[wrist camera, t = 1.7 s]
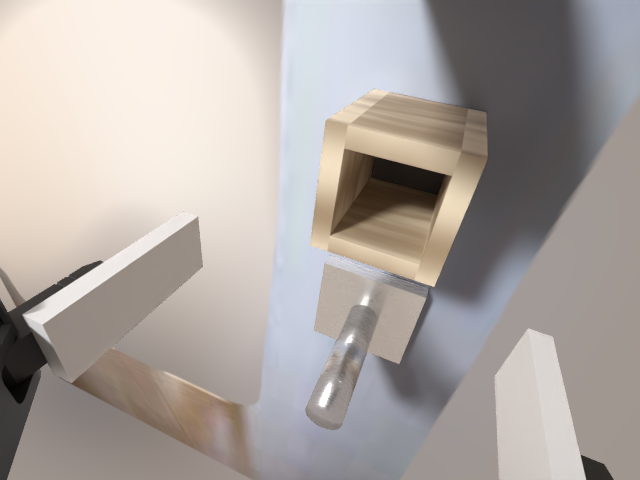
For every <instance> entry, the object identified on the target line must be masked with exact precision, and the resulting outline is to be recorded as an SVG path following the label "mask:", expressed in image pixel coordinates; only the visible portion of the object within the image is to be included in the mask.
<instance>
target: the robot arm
mask: <svg viewBox="0 0 640 480" xmlns="http://www.w3.org/2000/svg"><path fill="white" fill-rule="evenodd" d="M202 267H203V265H202V254H201V243H200V232H199V222H198V216H195V215H192V214H189V213H186V212H181V213H180V214H179V215H177V216H175V217H174V218H172V219H171V220H169V221H167V222H166V223H164V224H163V225H161V226H160V227H158V228H157V229H155V230H153V231H152V232H150V233H149V234H147V235H146V236H144V237H143V238H141V239H139V240H138V241H136V242H135V243H133V244H132V245H130V246H129V247H127V248H125V249H124V250H122V251H121V252H119V253H118V254H116V255H114V256H113V257H111V258H110V259H108V260H107V261H105V262H102V261H97V262H94V263H92V264H89V265H86V266H83V267H81V268H80V269H78V270H77V271H75V272H74V273H72V274H70V275H69V277H65V278H64V279H62V280H61V281H59V282H58V283H57V284H56V285H55V284H54V285H52V286H51V287H49V288H47V289H46V290H44V291H43V292H41V293H39V294H38V295H36V296H34V297H33V298H31V299H30V300H28V301H26V302H25V303H23V304H22V305H20V306H18V307H17V308H15V309H13V310H12V311H10V312H7V310H6V308H5V307H4V305H3V303H2V301H1V300H0V480H7V477H8V474H9V471H10V468H11V465H12V462H13V459H14V456H15V453H16V450H17V447H18V444H19V441H20V438H21V435H22V432H23V429H24V425H25V423H26V420H27V417H28V413H29V411H30V407H31V405H32V402H33V399H34V396H35V392H36V389H37V386H38V383H39V380H40V377H41V370H40V368H41V367H42V366H44V365H45V364H46V363H48V365H49V366H50V368H51V370H52V372H53V374H55V375H57V376H59V377H61V378H62V379H64V380H66V381H68V382H70V383H72V382H73V381H74V380H76V379H77V378H78V377H79V376H80V375H81V374H82V373H83V372H85V371H86V370H87V369H88V368H89V367H90V366H91V365H92V364H94V363H95V362H96V361H97V360H98V359H99V358H100V357H101V356H103V355H104V354H105V353H106V352H107V351H108V350H109V349H110V348H112V347H113V346H114V345H115V344H116V343H117V342H118V341H119V340H121V339H122V338H123V337H124V336H125V335H126V334H127V333H129V332H130V331H131V330H132V329H133V328H134V327H135V326H136V325H138V323H140V322H141V321H142V320H143V319H144V318H145V317H147V315H149V314H150V313H151V312H152V311H153V310H154V309H155V308H156V307H158V306H159V305H160V304H161V303H162V302H163V301H165V300H166V299H167V298H168V297H169V296H170V295H171V294H172V293H174V292H175V291H176V290H177V289H178V288H179V287H180V286H182V285H183V284H184V283H185V282H186V281H187V280H188V279H189V278H191V277H192V276H193V275H194V274H195V273H196V272H197V271H198V270H200V269H201V268H202ZM495 398H496V399H495V400H496V424H497V447H498V467H499V468H498V470H499V480H613V478H612V476H611V475H610V473H609V472H608V470H607V468H606V467H605V465H604V464H602V463H600V462H597V461H595V460H592V459H590V458H587V457H585V456H582V455H580V451H579V447H578V443H577V439H576V434H575V430H574V426H573V421H572V417H571V413H570V408H569V404H568V400H567V396H566V391H565V387H564V383H563V379H562V375H561V370H560V366H559V361H558V357H557V353H556V349H555V345H554V341H553V337H552V336H549V335H546V334H543V333H540V332H537V331H534V330H531V329H527V331H526V332H525V334H524V335H523V337H522V338H521V339H520V341H519V342H518V344H517V345H516V347H515V348H514V349H513V351H512V352H511V354H510V355H509V357H508V358H507V360H506V361H505V362H504V364H503V365H502V367H501V368H500V370H499V371H498V373H497V374H496V376H495Z"/></svg>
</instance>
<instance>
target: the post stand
mask: <svg viewBox="0 0 640 480" xmlns="http://www.w3.org/2000/svg"><path fill="white" fill-rule="evenodd" d="M427 293H428V288H427V287H424V286H421V285H418V284H415V283H412V282H409V281H406V280H403V279H400V278H397V277H394V276H391V275H388V274H385V273H382V272H380V271H377V270H374V269H371V268H368V267H365V266H362V265H359V264H356V263H353V262H350V261H347V260H344V259H341V258H338V257H335V256H332V255H330V256H329V257H328V259H327V260H326V262H325V265H324V271H323V277H322V283H321V289H320V296H319V302H318V308H317V314H316V320H315V326H314V331H317V332H319V333H322V334H324V335H327V336H329V337H332V338H334V339H337V340H336V342H335V345H334V347H333V349H332V351H331V353H330V356H329V358H328V360H327V362H326V364H325V367H324V369H323V371H322V373H321V375H320V378H319V380H318V382H317V384H316V386H315V389H314V391H313V393H312V395H311V398H310V400H309V402H308V404H307V406H306V409H305V411H306V414H307V416H308V417H309V418H310V420H312V421H313V422H314V423H315V424H317V425H318V426H320V427H323V428H325V429H329V430H337V429H339V428H340V427H341V426H342V423H343V420H344V417H345V414H346V412H347V409H348V406H349V403H350V400H351V397H352V394H353V391H354V388H355V386H356V383H357V380H358V377H359V374H360V371H361V368H362V365H363V362H364V360H365V357H366V354H367V352H369V353H372V354H374V355H377V356H379V357H382V358H384V359H387V360H389V361H392V362H394V363H397V364H400V361H401V359H402V356H403V354H404V351H405V349H406V347H407V344H408V342H409V339H410V337H411V334H412V332H413V330H414V327H415V325H416V322H417V320H418V317H419V315H420V313H421V310H422V308H423V305H424V303H425V301H426V298H427Z"/></svg>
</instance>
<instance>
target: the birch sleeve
mask: <svg viewBox="0 0 640 480" xmlns="http://www.w3.org/2000/svg"><path fill="white" fill-rule="evenodd" d="M375 156H376V157H379V158H383V159H387V160H391V161H395V162H399V163H403V164H407V165H411V166H415V167H419V168H422V169H426V170H430V171H434V172H438V173H442V174H445V176H444V179H443V181H442V184H441V187H440V190H439V193H438V195H434V194H431V193H427V192H423V191H420V190H416V189H412V188H408V187H405V186H401V185H397V184H394V183H390V182H386V181H383V180H379V179H375V178H372V177H371V174H372V170H373V165H374V161H375ZM487 160H488V147H487V118H486V112H483V111H478V110H473V109H468V108H464V107H459V106H454V105H449V104H444V103H440V102H435V101H430V100H425V99H420V98H415V97H411V96H406V95H401V94H396V93H391V92H387V91H382V90H377V89H373V90H371V91H370V92H368V93H367V94H365V95H364V96H362V97H361V98H359V99H358V100H356V101H355V102H353V103H351V104H350V105H348V106H347V107H345V108H344V109H342V110H341V111H339V112H338V113H336V114H335V115H333V116H332V117H330V118H329V119H327V120H326V123H325V131H324V138H323V146H322V154H321V162H320V170H319V178H318V186H317V194H316V202H315V210H314V218H313V226H312V234H311V242H310V245H311V246H314V247H317V248H320V249H322V250H325V251H328V252H331V253H334V254H337V255H340V256H343V257H346V258H349V259H352V260H355V261H358V262H361V263H364V264H367V265H370V266H373V267H376V268H379V269H382V270H385V271H388V272H391V273H394V274H397V275H400V276H403V277H406V278H409V279H412V280H415V281H418V282H421V283H424V284H427V285H430V286H433V287H434V286H435V284H436V281H437V279H438V277H439V274H440V272H441V270H442V267H443V265H444V262H445V260H446V258H447V255H448V253H449V250H450V248H451V246H452V243H453V241H454V239H455V236H456V234H457V231H458V229H459V227H460V224H461V222H462V220H463V217H464V215H465V212H466V210H467V208H468V205H469V203H470V200H471V198H472V196H473V193H474V191H475V189H476V186H477V184H478V181H479V179H480V177H481V174H482V172H483V169H484V167H485V165H486V162H487Z"/></svg>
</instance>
